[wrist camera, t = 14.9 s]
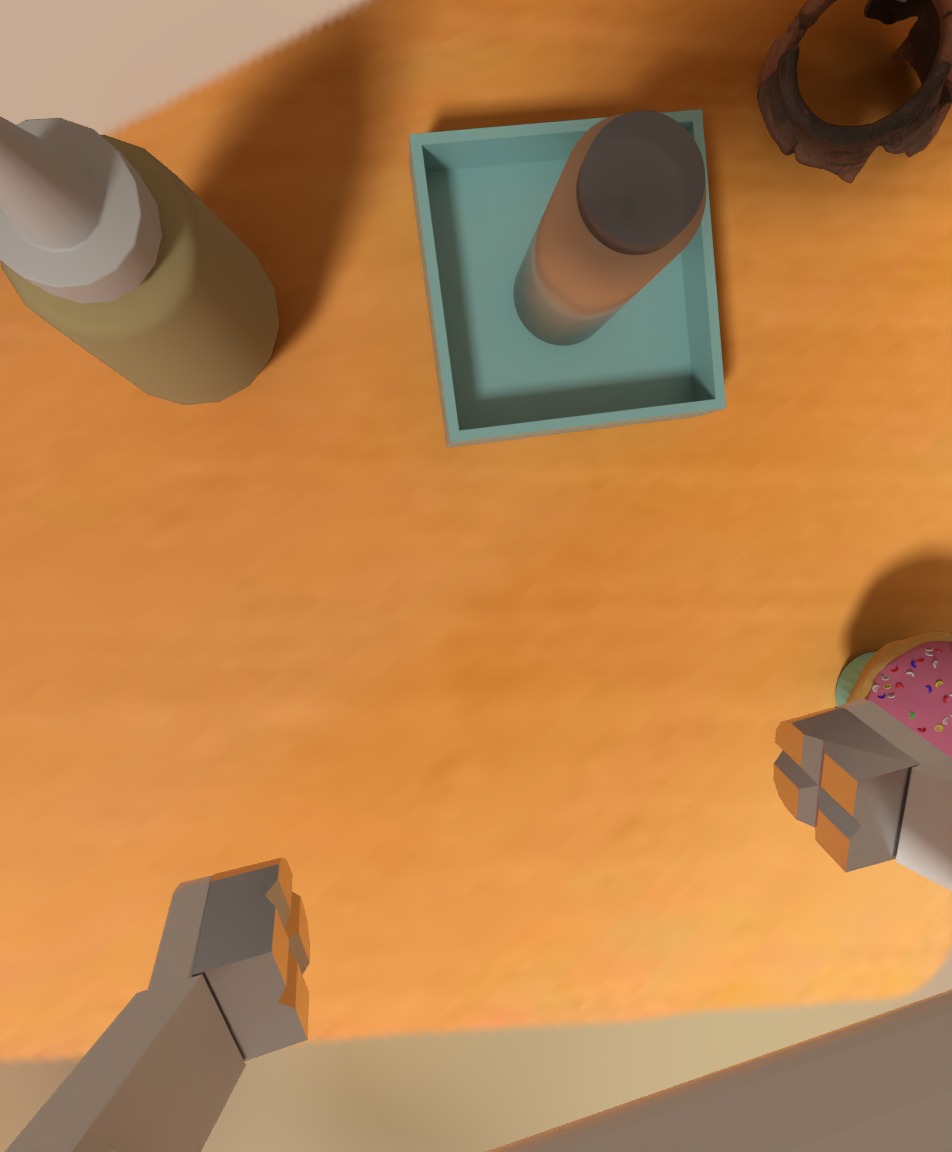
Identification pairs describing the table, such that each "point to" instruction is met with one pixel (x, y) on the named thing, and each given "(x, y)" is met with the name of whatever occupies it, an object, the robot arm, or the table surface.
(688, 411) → the tray
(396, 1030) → the table surface
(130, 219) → the squeeze bottle
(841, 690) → the cupcake
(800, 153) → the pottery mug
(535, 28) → the table surface
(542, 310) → the shaker
